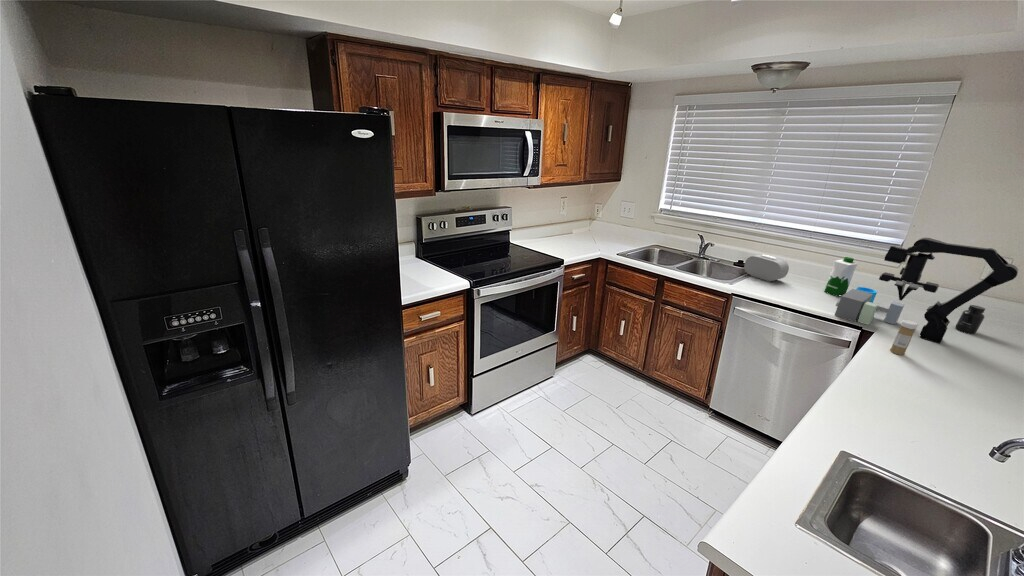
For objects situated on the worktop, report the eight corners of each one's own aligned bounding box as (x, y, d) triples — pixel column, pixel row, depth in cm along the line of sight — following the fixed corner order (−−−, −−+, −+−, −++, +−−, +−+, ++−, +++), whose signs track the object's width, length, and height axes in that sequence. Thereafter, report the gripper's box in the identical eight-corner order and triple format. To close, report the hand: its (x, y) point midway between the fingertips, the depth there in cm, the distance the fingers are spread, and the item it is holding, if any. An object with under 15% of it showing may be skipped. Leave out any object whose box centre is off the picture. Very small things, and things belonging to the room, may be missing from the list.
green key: (871, 322, 190) (878, 304, 187) (868, 324, 187) (875, 306, 184) (835, 311, 200) (841, 294, 197) (831, 313, 197) (838, 296, 194)
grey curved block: (865, 312, 201) (873, 293, 197) (854, 321, 190) (862, 301, 187) (845, 307, 207) (852, 288, 203) (834, 315, 196) (841, 296, 192)
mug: (871, 309, 206) (877, 294, 203) (851, 304, 210) (857, 290, 208) (870, 302, 215) (875, 287, 212) (850, 298, 220) (856, 283, 217)
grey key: (897, 321, 192) (904, 304, 189) (894, 324, 189) (902, 306, 186) (855, 309, 203) (861, 293, 200) (852, 312, 201) (858, 295, 197)
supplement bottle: (958, 331, 185) (970, 307, 181) (951, 326, 191) (963, 302, 187) (979, 335, 182) (991, 311, 178) (971, 330, 188) (984, 306, 184)
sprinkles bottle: (906, 353, 163) (919, 323, 158) (902, 356, 161) (916, 325, 156) (891, 348, 167) (904, 318, 162) (887, 351, 164) (900, 321, 159)
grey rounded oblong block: (785, 282, 239) (792, 260, 234) (776, 284, 234) (783, 262, 230) (750, 271, 255) (756, 250, 251) (742, 273, 251) (747, 252, 246)
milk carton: (847, 295, 223) (861, 260, 216) (838, 297, 220) (851, 261, 212) (830, 289, 231) (842, 255, 223) (821, 291, 227) (833, 256, 220)
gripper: (947, 269, 175) (932, 303, 180) (891, 258, 188) (878, 290, 194) (943, 274, 168) (927, 309, 174) (885, 262, 182) (872, 294, 187)
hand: (900, 300), depth 182 cm, fingers closed
